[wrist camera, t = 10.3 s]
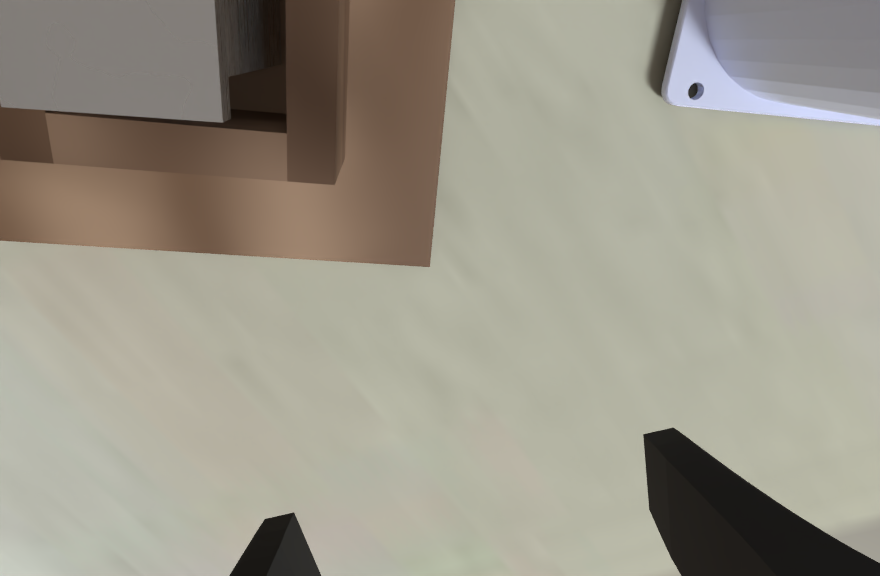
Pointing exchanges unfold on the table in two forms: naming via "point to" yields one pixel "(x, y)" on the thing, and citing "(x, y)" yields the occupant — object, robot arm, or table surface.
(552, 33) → the table surface
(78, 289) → the table surface
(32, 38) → the pale gray rectangular block
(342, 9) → the walnut holder
